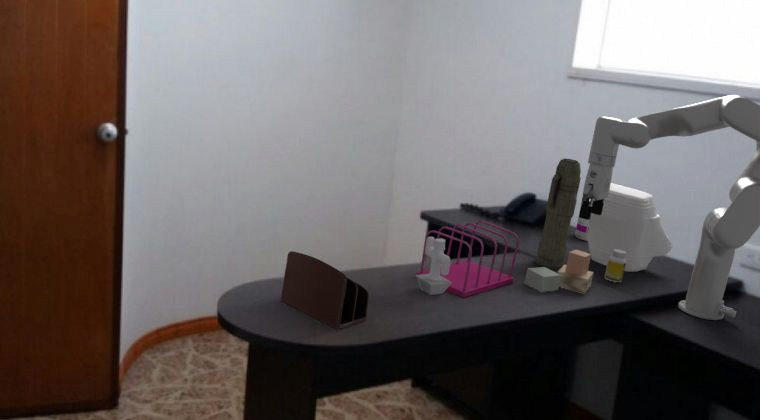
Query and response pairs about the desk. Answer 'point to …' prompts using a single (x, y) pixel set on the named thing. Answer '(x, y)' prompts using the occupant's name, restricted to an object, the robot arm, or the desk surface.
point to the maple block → (575, 280)
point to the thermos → (559, 214)
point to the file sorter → (473, 264)
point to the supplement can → (582, 227)
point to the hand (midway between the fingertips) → (590, 216)
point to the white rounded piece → (628, 229)
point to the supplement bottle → (616, 266)
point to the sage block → (542, 279)
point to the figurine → (435, 268)
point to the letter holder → (323, 291)
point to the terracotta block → (578, 262)
